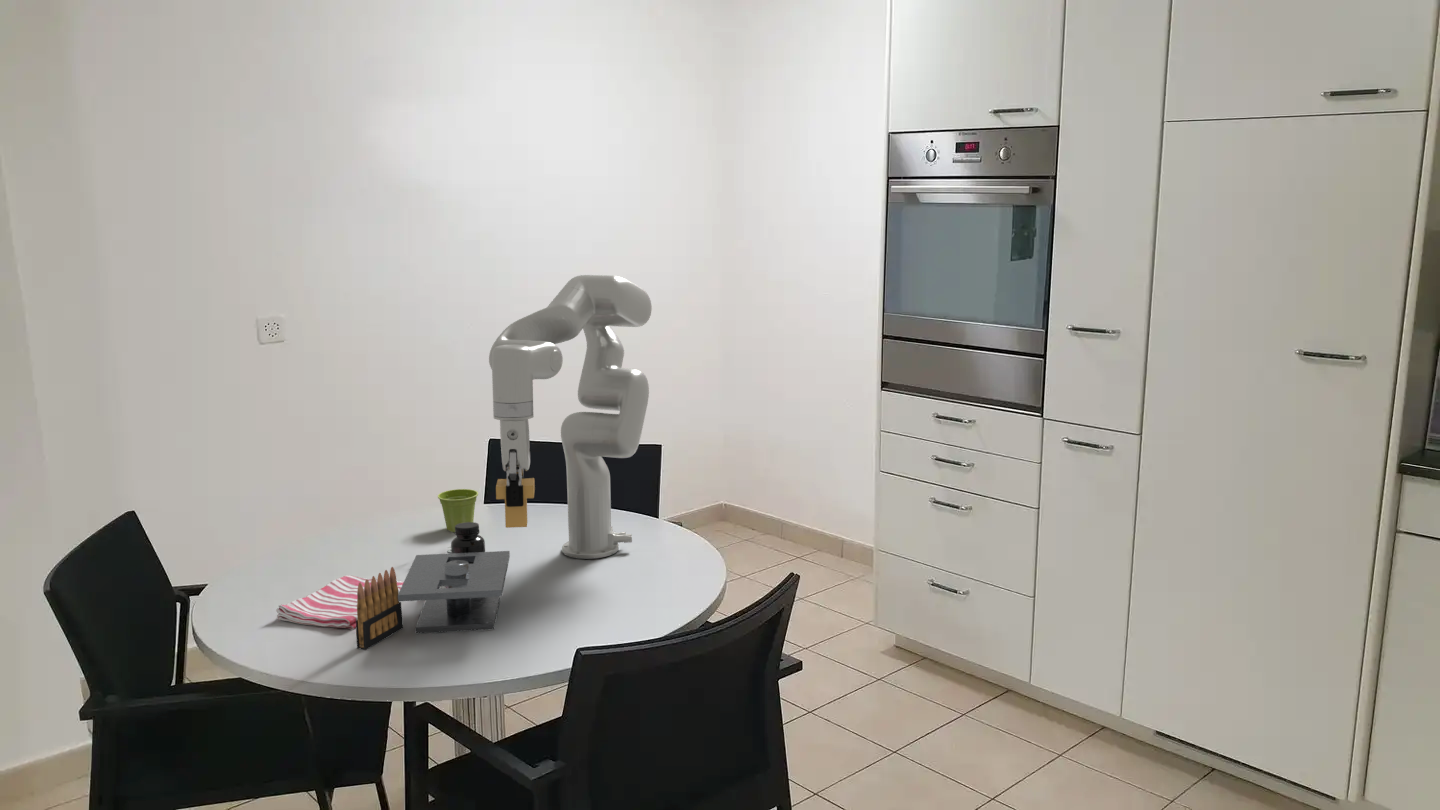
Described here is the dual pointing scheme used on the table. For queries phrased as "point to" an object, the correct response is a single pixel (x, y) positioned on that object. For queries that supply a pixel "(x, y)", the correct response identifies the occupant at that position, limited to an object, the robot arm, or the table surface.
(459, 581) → the gray tiered stand
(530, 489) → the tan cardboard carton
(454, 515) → the plant pot
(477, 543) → the supplement bottle
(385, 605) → the ammunition clip
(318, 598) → the dish towel
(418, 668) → the table surface
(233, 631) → the table surface
